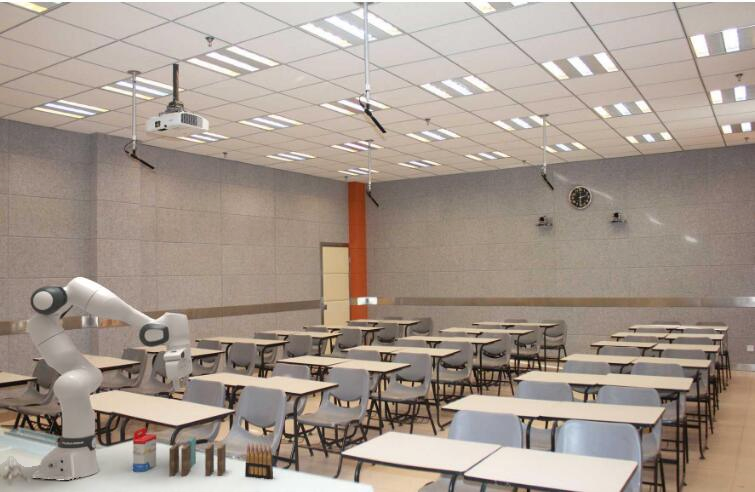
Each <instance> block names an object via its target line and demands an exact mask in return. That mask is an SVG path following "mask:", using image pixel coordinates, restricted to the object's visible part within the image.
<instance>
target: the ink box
mask: <svg viewBox="0 0 755 492" xmlns="http://www.w3.org/2000/svg"><path fill="white" fill-rule="evenodd" d="M132 440H133V441H132V454H133V455H132V471H133V472H142V473H143V472H144V473H145V472H146V471H148V470H149V469H151V468H153V467H155V466H156V465H157V434H147V427H146V426H145V427H142V428H140V429H139V428H138V429H137V430H135V431H134V432H133V439H132Z"/></svg>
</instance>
